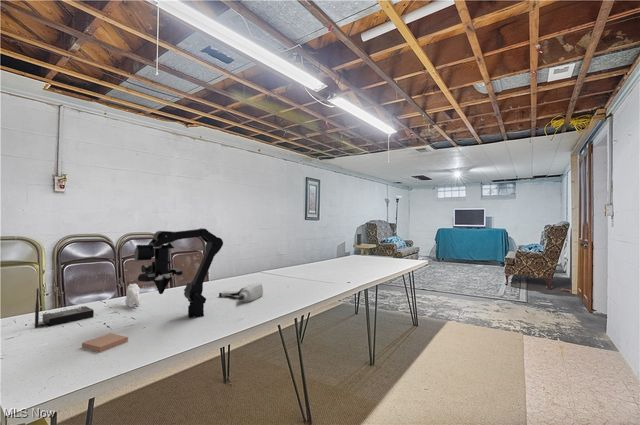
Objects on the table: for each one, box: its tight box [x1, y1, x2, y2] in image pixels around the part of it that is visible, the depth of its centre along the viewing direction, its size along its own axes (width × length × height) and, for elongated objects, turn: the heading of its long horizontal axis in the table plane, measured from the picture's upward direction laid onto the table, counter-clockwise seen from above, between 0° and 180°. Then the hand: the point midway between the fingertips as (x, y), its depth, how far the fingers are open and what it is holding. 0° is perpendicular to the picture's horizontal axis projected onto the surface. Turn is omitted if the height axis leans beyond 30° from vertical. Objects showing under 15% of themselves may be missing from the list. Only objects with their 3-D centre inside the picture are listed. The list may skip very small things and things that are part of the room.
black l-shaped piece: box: [34, 288, 95, 329], centre depth 138 cm, size 20×14×17 cm
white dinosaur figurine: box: [124, 282, 142, 308], centre depth 161 cm, size 7×24×11 cm, turn 44°
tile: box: [81, 332, 129, 353], centre depth 111 cm, size 2×10×10 cm
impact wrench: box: [218, 282, 264, 303], centre depth 177 cm, size 8×23×25 cm
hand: (160, 293), depth 135 cm, fingers closed
